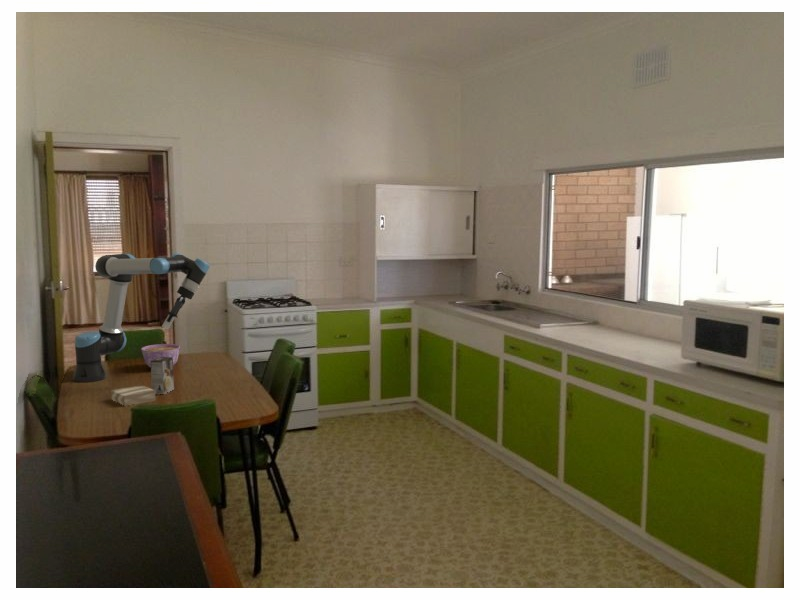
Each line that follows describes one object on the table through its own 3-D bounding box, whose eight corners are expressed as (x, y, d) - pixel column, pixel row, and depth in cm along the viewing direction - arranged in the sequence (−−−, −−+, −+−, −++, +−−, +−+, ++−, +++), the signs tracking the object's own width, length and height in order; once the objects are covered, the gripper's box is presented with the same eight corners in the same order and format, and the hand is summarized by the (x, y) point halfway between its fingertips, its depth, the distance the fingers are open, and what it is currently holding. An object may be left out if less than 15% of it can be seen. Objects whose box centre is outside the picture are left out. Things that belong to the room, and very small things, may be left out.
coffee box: (162, 389, 322) (161, 356, 320) (174, 390, 321) (173, 357, 319) (151, 394, 314) (150, 360, 311) (164, 395, 312) (162, 361, 310)
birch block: (111, 401, 303) (111, 390, 303) (141, 395, 313) (141, 384, 312) (124, 407, 293) (124, 396, 293) (155, 401, 303) (155, 390, 303)
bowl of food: (188, 367, 369) (188, 346, 367) (158, 374, 352) (157, 352, 350) (164, 362, 379) (164, 342, 378) (134, 369, 363) (133, 348, 361)
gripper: (194, 291, 311) (171, 332, 308) (195, 293, 335) (173, 331, 332) (179, 283, 310) (155, 324, 306) (181, 286, 334) (159, 323, 330)
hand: (165, 327), depth 319 cm, fingers open, 13 cm apart
